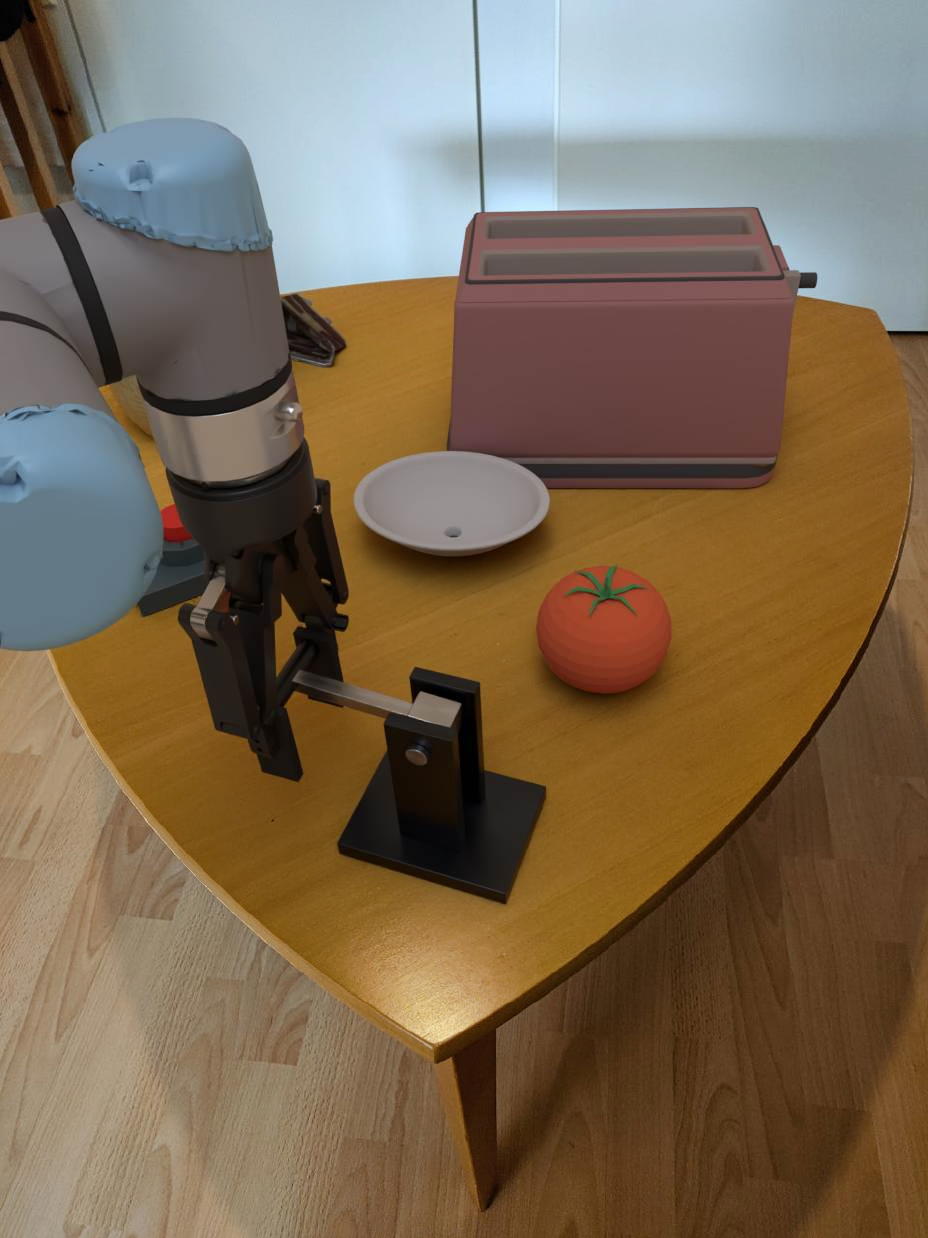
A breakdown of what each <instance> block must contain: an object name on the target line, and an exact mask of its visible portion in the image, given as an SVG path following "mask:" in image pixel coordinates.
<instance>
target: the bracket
mask: <svg viewBox="0 0 928 1238" xmlns="http://www.w3.org/2000/svg"><path fill="white" fill-rule="evenodd" d="M408 680H409V687H410V696H411V703H414V701H415V699H416V697H417V695H418V694H419V692H420V691H423V692H426V693H429V694H433V695H436V696H440V697H443V698H446V699H450V700H453V701H457V702H460V703H462V711H461V729H460V731H459V733H458V732H457V729H454V728H450V727H446V726H442V725H438V724H434V723H431V722H427V721H423V720H419V719H415V718H411V717H407V716H403V715H399V714H395V713H392V712H389V714H388V716H387V718H386V719H385V720H384V721H383V723H382V725H383V731H384V739H385V745H386V751H385V752H384V755H383V756H382V757H381V760H380V762H379V764H378V766H377V767H376V769H375V771H374V773H373V775H372V777H371V778H370V781H369V783H368V784H367V786H366V788H365V790H364V792H363V794H362V796H361V798H360V799H359V801H358V803H357V805H356V807H355V809H354V810H353V812H352V814H351V816H350V818H349V820H348V822H347V824H346V826H345V827H344V829H343V831H342V833H341V835H340V837H339V838H338V840H337V842H336V845H337V850H338V853H339V854H340V855H343V856H344V857H345V856H346V857H349V858H352V859H356V860H359V861H361V862H365V863H369V864H371V865H375V866H377V867H381V868H384V869H388V870H391V871H395V872H397V873H401V874H403V875H404V874H405V875H408V876H411V877H415V878H418V879H421V880H424V881H427V882H431V883H433V884H438V885H440V886H444V887H447V888H450V889H454V890H457V891H460V892H463V893H468V894H470V895H473V896H477V897H480V898H483V899H486V900H489V901H493V902H495V903H500V904H503V905H507V903H508V900H509V898H510V894H511V892H512V890H513V886H514V884H515V881H516V879H517V877H518V874H519V871H520V869H521V865H522V863H523V861H524V857H525V855H526V852H527V849H528V847H529V844H530V841H531V839H532V837H533V834H534V831H535V828H536V826H537V824H538V821H539V818H540V815H541V813H542V810H543V807H544V804H545V802H546V800H547V786H546V785H542V784H538V783H534V782H531V781H528V780H523V779H520V778H516V777H512V776H508V775H505V774H500V773H497V772H493V771H490V770H486V769H485V755H484V735H483V715H482V713H483V712H482V695H481V692H482V691H481V682H480V681H478V680H474V679H468V678H464V677H461V676H457V675H452V674H448V673H444V672H439V671H435V670H431V669H429V668H422V667H420V666H419V667H418V666H414V667H413V669H412V671H411V673H410V675H409V676H408Z"/></svg>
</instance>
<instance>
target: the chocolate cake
mask: <svg viewBox="0 0 928 1238" xmlns="http://www.w3.org/2000/svg"><path fill="white" fill-rule="evenodd" d="M280 298H281V304H282V310H283V316H284V322H285V329H286V335H287V341H288V347H289V351H290V356H291V361H295V362H302V363H306V364H310V365H314V366H317V367H320V368H326V367H329V366H331V365H332V363H333V361H334V360H333V359H334V358H335V352H338V351H339V350H341V349H342V348H345V347H347V342H346V339H345V338H344V336H343V335H342V334H341V333H340V332H339V331H338V330H337V329H336V328H335V327H334V326H333V325H332V323H333V320H332V319H331V318H330V317H328V316H324V317H323V316H321V314H320V313H319V312H318V311H317V310H315V309H314V308H313V307H312V305H313V300H311V299H308V298H305V297H303V296H302V295H301V294H300V293H291V294H287V295H282V296H280Z"/></svg>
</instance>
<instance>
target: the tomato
mask: <svg viewBox="0 0 928 1238" xmlns="http://www.w3.org/2000/svg"><path fill="white" fill-rule="evenodd" d="M536 619H537V620H536V626H535V631H536V639H537V644H538V645H537V646H538V648H539V650H540V653H541V655H542V657H543V659H544V661H545V663H546V664H547V665H548V667H549V668H550V670H551V671H552V672H553V673H554V674H555V675H556V676H558V677H559V678H560V679H561V680H562V681H563V682H565V683H567V684H568V685H570V686H572V687H574V688H576V689H579V690H582V691H585V692H589V693H593V694H594V693H596V694H613V693H620V692H624V691H628V690H630V689H634V687H637V686H639V685H640V684H642V683H643V682H645V681H646V680H648V679H649V678H651V676H653V675H654V674H655V672H657V670H658V669H659V668H660V666H661V665H662V663H663V662H664V660H665V659H666V657H667V655H668V652H669V648H670V644H671V641H672V618H671V615H670V612H669V609H668V605H667V602H666V601H665V599H664V598H663V596H662V594H661V593H660V592H659V591H658V589H657V588H656V587H655V586H654V585H653V584H652V583H651V582H650V581H648V580H647V579H646V578H644V577H643V576H641V575H639V574H637V573H635V572H634V571H631V570H629V569H626V568H623V567H619V564H615V565H613V566H608V565H597V566H591V567H585V568H581V569H578V570H574V572H573V571H572V572H571V573H569V574H567V575H565V576H564V577H562V578H561V579H560V580H559V581H557V582H556V583H555V584H554V585H553V586H552V587H551V588H550V589H549V591H548V592H547V594H546V595H545V597H544V599H543V601H542V602H541V605H540V607H539V610H538V613H537V618H536Z"/></svg>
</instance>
